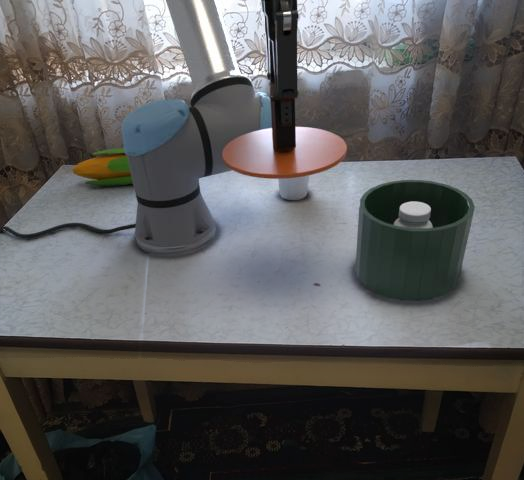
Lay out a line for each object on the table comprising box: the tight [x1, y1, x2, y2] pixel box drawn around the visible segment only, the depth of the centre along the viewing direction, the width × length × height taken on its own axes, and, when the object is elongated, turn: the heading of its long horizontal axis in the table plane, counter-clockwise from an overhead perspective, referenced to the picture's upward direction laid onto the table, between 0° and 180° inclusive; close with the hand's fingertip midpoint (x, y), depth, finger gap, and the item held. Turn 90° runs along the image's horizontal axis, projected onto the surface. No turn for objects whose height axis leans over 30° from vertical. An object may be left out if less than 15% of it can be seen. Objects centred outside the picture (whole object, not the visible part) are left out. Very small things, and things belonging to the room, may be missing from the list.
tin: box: [354, 179, 476, 302], centre depth 83 cm, size 17×17×12 cm
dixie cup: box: [277, 175, 310, 201], centre depth 108 cm, size 8×8×10 cm
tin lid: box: [222, 79, 348, 180], centre depth 73 cm, size 18×18×10 cm
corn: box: [71, 147, 133, 187], centre depth 120 cm, size 7×8×20 cm
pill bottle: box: [393, 202, 433, 228], centre depth 83 cm, size 6×6×11 cm
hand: (283, 142), depth 75 cm, fingers closed on tin lid, 3 cm apart
